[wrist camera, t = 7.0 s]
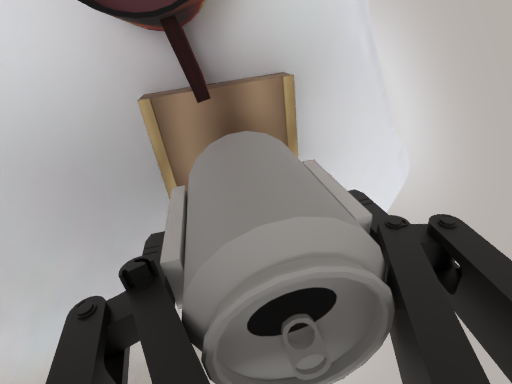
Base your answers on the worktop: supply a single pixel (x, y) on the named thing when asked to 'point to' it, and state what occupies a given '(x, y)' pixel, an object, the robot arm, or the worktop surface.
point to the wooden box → (216, 119)
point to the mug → (162, 29)
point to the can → (277, 270)
